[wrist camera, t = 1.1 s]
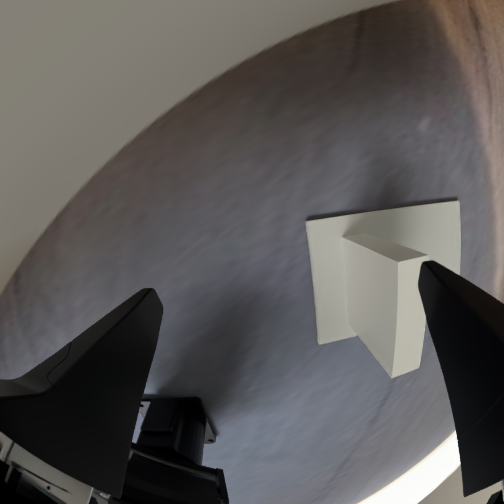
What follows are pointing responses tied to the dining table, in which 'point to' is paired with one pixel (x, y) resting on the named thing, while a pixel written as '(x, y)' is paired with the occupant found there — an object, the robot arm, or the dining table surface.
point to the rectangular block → (385, 300)
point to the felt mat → (383, 226)
